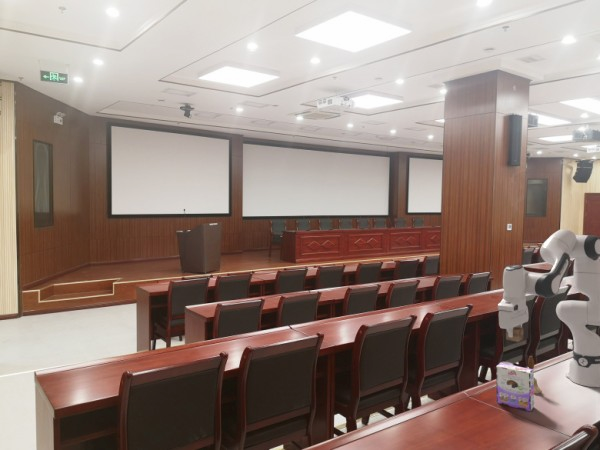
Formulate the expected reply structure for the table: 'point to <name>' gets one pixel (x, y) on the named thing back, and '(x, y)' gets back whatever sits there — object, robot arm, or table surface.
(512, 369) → the candy box
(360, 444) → the table surface
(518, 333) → the walnut cube
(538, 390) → the hand bell
